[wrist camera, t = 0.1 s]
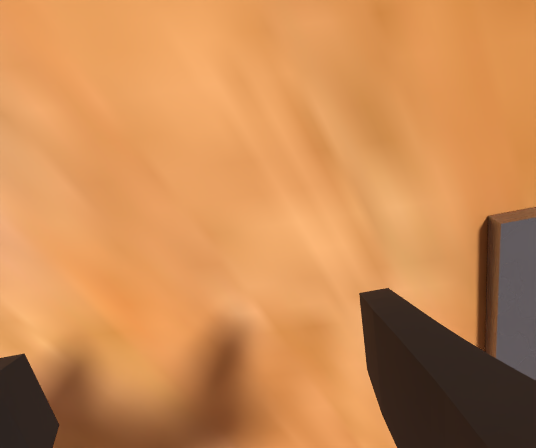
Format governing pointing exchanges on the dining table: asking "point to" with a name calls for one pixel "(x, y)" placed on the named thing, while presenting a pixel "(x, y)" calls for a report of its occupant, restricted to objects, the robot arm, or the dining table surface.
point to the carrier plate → (512, 290)
